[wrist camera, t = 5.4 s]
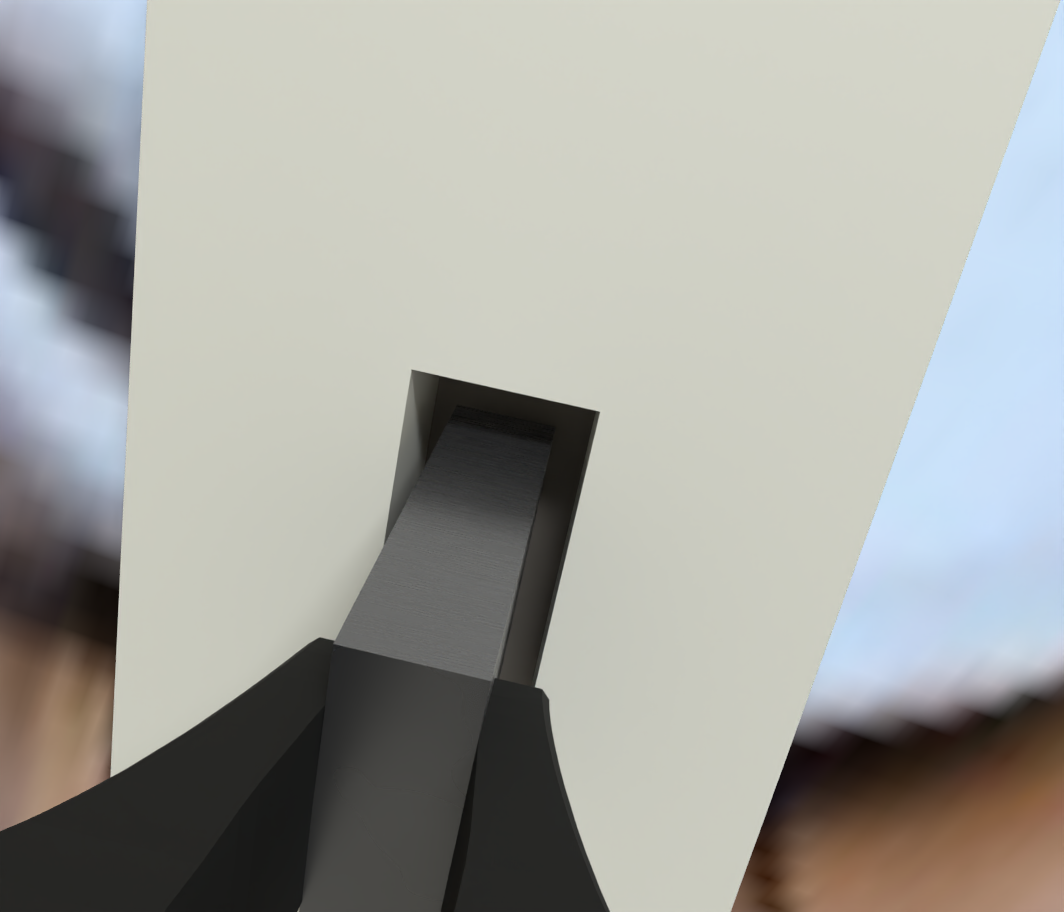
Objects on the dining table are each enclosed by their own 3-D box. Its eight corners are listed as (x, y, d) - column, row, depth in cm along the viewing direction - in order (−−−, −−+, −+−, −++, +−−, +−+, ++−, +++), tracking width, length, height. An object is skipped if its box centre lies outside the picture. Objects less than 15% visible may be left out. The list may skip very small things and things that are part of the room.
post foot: (640, 1014, 20) (638, 1163, 17) (173, 900, 20) (98, 1028, 18) (996, -52, 13) (1094, -94, 10) (264, -205, 13) (160, -284, 10)
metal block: (496, 690, 16) (415, 1022, 11) (410, 669, 17) (288, 992, 11) (555, 426, 14) (491, 681, 9) (456, 403, 14) (333, 643, 9)
